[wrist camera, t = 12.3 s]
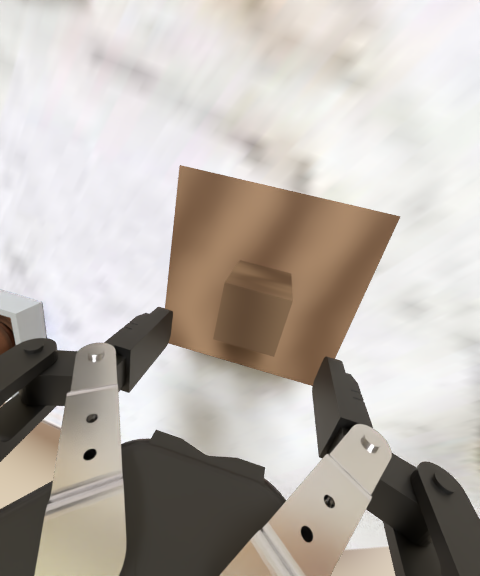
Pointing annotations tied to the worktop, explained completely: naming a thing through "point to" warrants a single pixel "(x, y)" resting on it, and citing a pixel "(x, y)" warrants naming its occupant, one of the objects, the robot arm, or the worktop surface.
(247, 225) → the walnut lid
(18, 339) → the grey square tray
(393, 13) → the worktop surface
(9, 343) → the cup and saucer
